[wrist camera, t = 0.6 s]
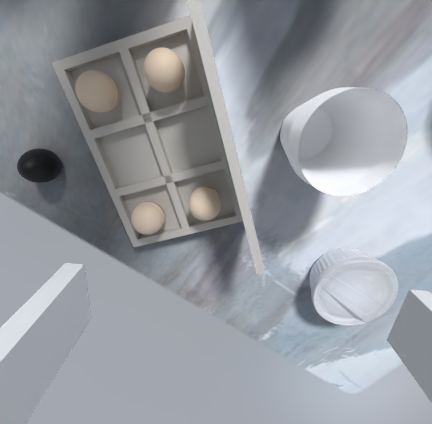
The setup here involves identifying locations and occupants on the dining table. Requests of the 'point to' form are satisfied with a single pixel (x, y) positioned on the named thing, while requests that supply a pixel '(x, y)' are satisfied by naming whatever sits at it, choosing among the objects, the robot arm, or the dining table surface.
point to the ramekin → (351, 287)
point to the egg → (39, 165)
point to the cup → (345, 139)
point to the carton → (161, 131)
